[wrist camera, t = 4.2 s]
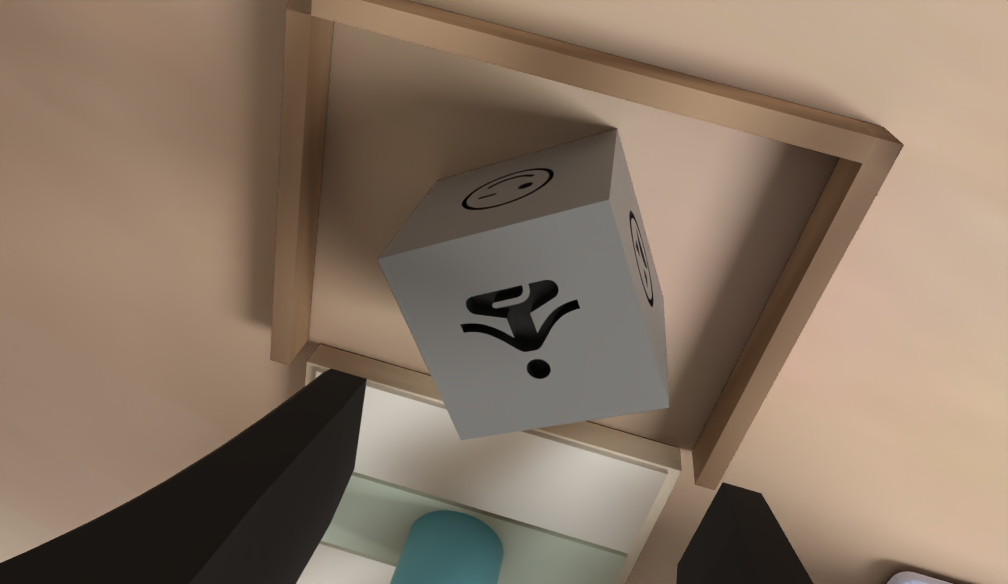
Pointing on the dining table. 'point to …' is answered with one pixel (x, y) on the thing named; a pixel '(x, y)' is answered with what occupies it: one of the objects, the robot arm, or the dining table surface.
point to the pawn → (449, 551)
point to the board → (556, 449)
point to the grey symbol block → (534, 291)
